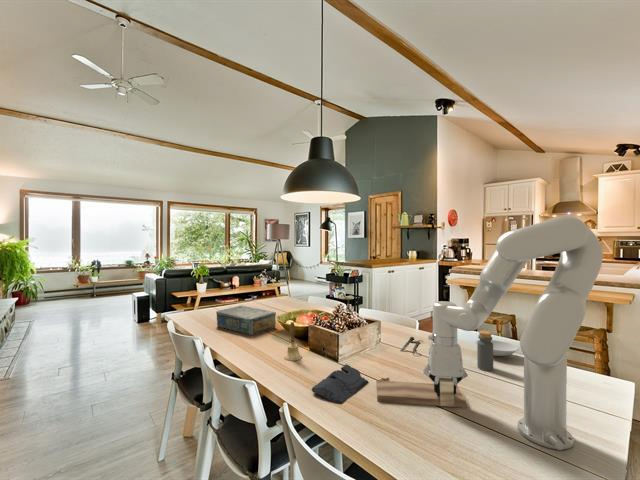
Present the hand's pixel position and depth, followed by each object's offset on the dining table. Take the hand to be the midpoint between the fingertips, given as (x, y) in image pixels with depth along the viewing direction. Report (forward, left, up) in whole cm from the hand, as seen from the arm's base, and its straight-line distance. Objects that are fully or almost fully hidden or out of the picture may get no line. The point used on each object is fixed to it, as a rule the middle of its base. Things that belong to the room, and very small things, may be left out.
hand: (445, 394), depth 103 cm
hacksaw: (+52, +2, -3) cm, 53 cm away
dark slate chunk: (+6, +35, -3) cm, 36 cm away
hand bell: (+31, +59, -3) cm, 67 cm away
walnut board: (+3, +8, -3) cm, 9 cm away
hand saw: (+21, +17, -3) cm, 28 cm away
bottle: (+30, -23, -3) cm, 38 cm away
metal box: (+74, +99, -3) cm, 124 cm away
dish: (+45, -33, -3) cm, 56 cm away
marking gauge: (+2, 0, -2) cm, 3 cm away
